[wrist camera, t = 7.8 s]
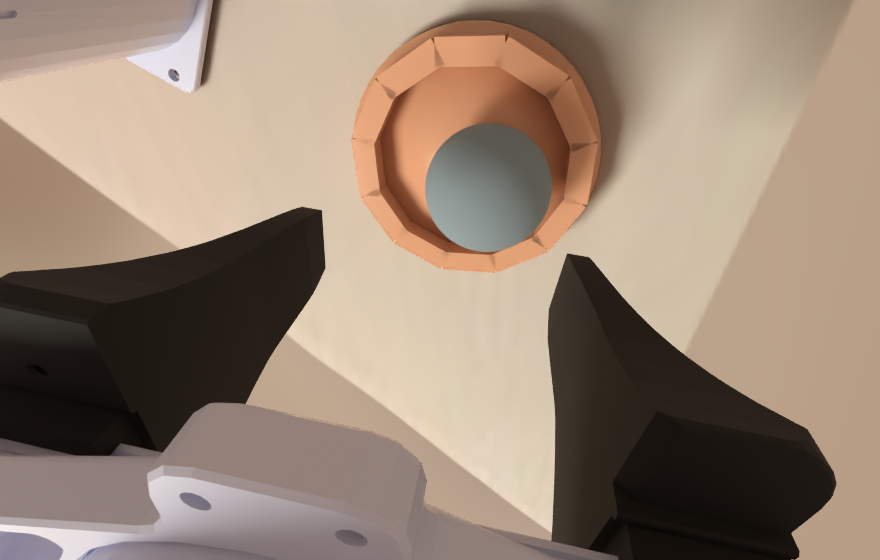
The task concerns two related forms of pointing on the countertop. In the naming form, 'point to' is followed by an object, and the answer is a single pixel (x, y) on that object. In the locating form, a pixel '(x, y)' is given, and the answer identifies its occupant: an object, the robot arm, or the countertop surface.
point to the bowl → (465, 104)
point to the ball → (488, 187)
